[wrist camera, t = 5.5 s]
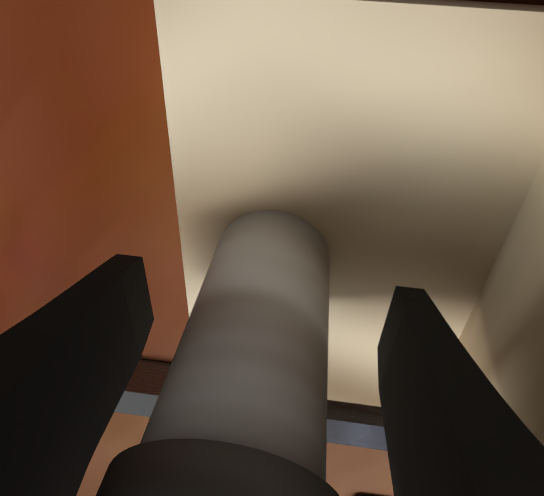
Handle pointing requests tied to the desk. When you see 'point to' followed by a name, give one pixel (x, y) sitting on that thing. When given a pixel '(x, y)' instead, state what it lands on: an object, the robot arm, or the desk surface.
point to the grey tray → (340, 415)
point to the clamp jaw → (338, 221)
